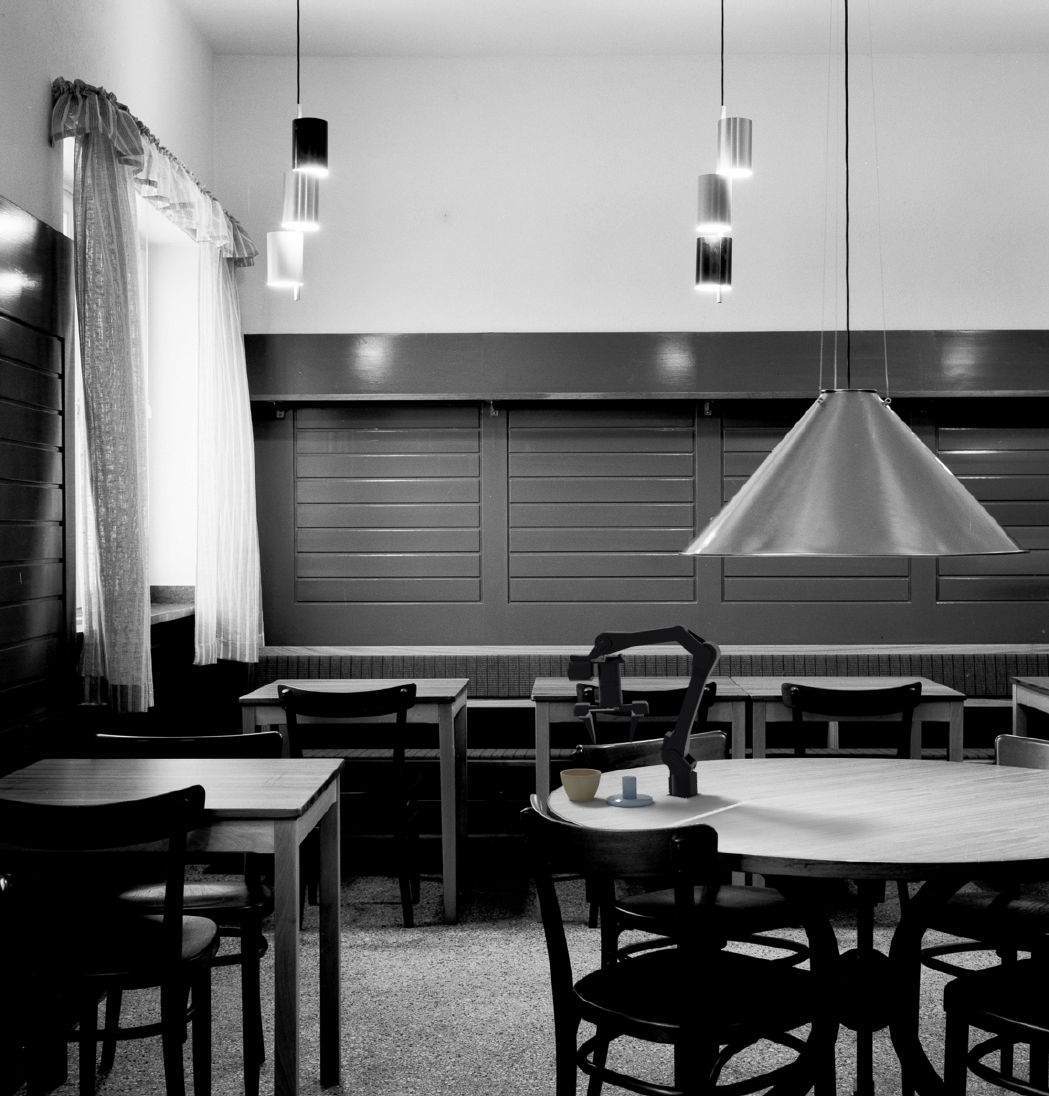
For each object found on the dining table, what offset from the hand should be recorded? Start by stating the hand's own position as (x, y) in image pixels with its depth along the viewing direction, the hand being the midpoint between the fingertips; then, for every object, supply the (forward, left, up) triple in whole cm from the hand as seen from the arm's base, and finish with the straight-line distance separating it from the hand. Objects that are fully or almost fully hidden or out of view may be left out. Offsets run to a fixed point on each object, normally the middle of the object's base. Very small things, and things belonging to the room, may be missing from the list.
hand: (612, 742), depth 288 cm
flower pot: (+1, +11, -13) cm, 17 cm away
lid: (-11, +7, -12) cm, 18 cm away
